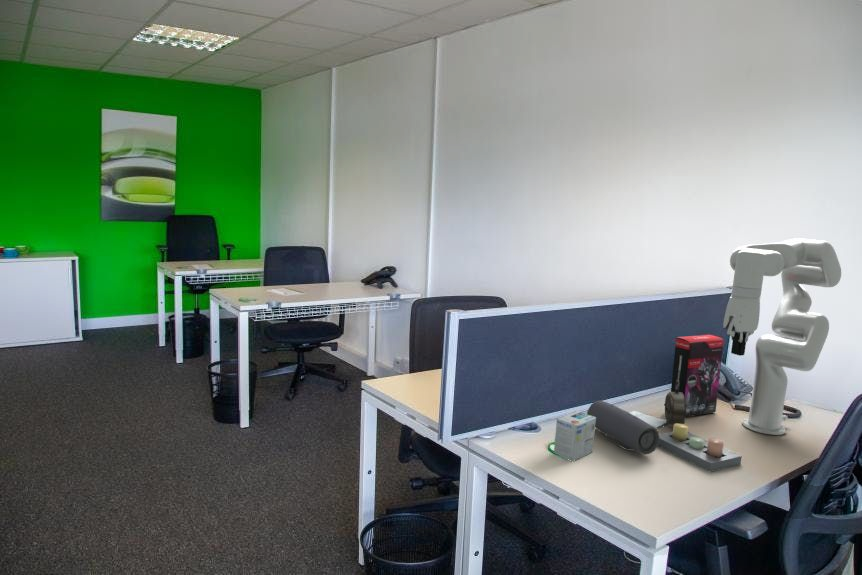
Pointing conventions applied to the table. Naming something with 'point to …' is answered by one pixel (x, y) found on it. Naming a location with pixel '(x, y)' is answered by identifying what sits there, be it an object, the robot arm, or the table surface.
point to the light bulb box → (574, 435)
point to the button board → (698, 453)
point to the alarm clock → (675, 407)
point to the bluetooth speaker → (624, 428)
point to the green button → (696, 443)
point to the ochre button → (680, 432)
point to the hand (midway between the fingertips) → (737, 354)
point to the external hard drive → (650, 420)
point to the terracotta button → (715, 448)
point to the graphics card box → (698, 372)
